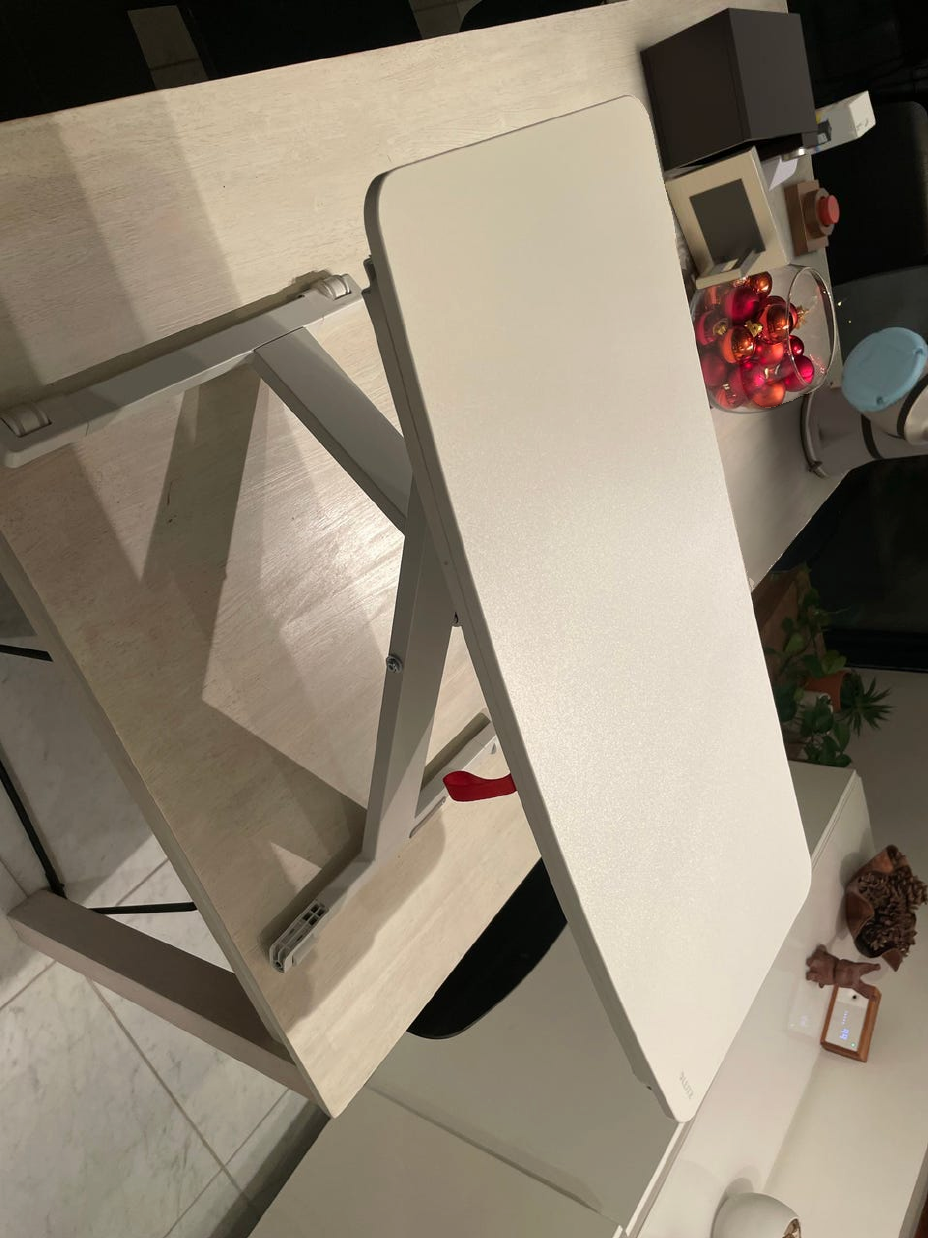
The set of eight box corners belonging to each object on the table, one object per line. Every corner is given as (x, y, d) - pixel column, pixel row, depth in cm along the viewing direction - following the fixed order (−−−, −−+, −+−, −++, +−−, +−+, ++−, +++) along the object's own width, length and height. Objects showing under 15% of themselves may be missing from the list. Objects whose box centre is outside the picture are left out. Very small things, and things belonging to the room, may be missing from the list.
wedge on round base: (746, 198, 135) (781, 174, 143) (791, 183, 131) (825, 159, 138) (729, 132, 132) (765, 112, 140) (775, 114, 127) (810, 94, 135)
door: (684, 313, 123) (770, 291, 115) (641, 206, 116) (729, 174, 108) (708, 282, 127) (792, 259, 119) (668, 177, 120) (754, 145, 112)
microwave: (738, 179, 133) (821, 149, 125) (667, 192, 120) (755, 159, 112) (714, 53, 129) (799, 13, 121) (638, 51, 116) (728, 6, 107)
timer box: (815, 249, 152) (840, 242, 149) (795, 255, 146) (820, 248, 144) (804, 183, 149) (829, 175, 146) (783, 188, 144) (808, 179, 141)
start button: (829, 224, 147) (840, 221, 146) (819, 227, 144) (831, 223, 143) (825, 197, 146) (836, 193, 145) (815, 199, 143) (826, 196, 142)
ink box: (791, 118, 146) (869, 87, 138) (800, 150, 148) (877, 122, 140) (770, 133, 141) (850, 102, 133) (779, 166, 143) (858, 138, 135)
